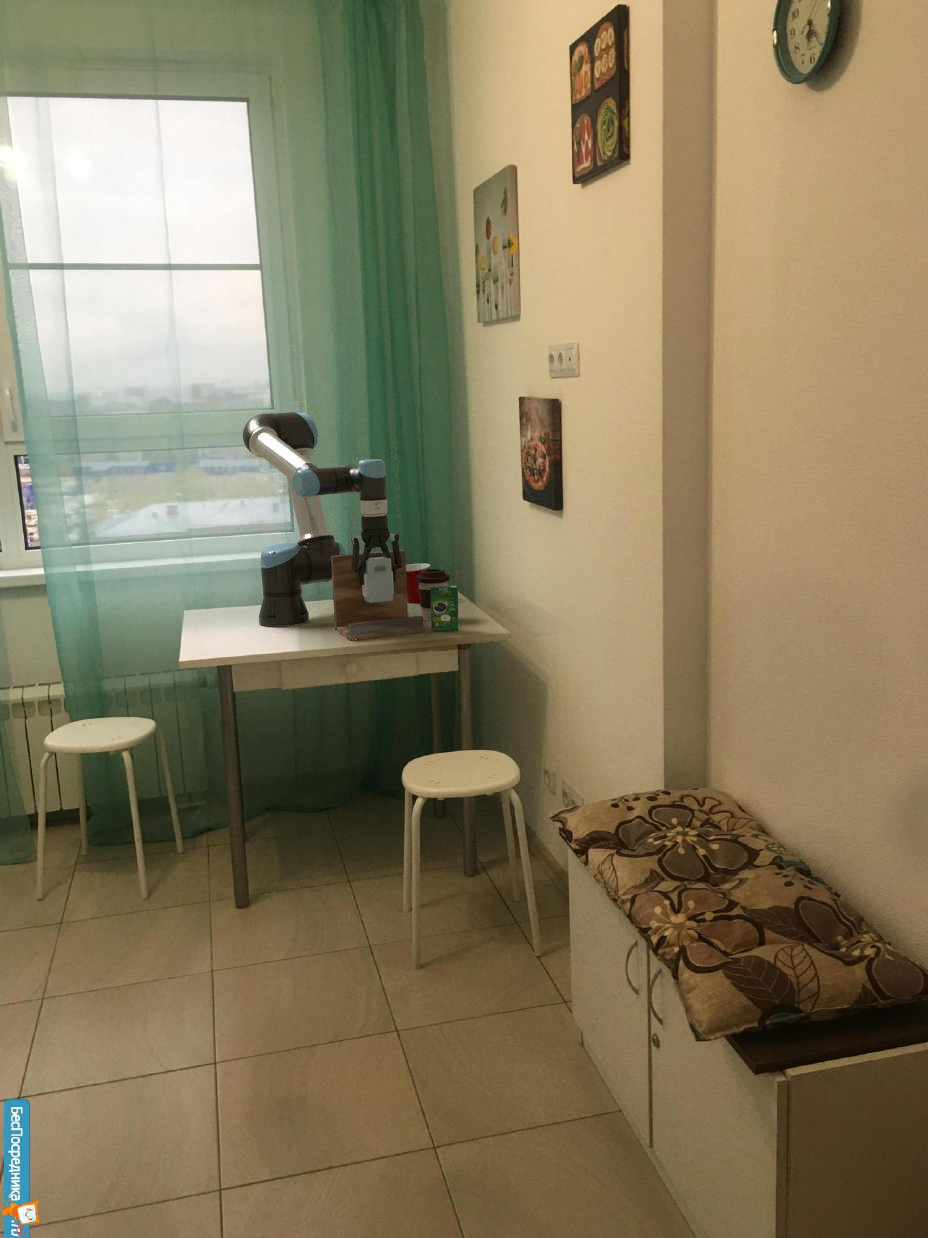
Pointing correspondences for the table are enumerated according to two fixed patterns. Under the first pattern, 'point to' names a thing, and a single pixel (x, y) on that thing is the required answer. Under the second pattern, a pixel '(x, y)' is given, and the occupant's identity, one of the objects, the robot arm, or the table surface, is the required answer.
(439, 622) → the coffee box
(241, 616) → the table surface
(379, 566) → the small blue-gray block
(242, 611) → the table surface
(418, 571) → the plastic cup
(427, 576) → the coffee cup
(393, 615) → the brown wooden display stand
